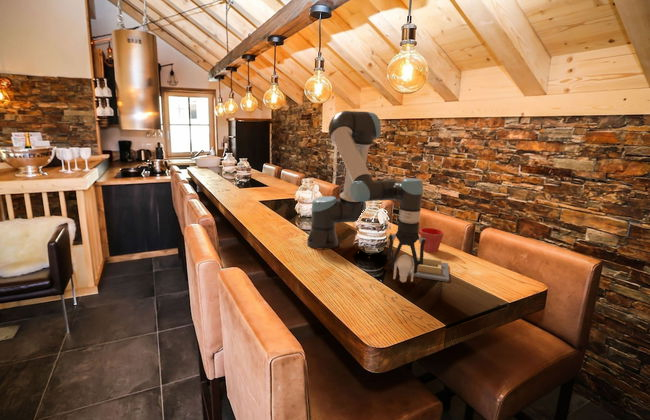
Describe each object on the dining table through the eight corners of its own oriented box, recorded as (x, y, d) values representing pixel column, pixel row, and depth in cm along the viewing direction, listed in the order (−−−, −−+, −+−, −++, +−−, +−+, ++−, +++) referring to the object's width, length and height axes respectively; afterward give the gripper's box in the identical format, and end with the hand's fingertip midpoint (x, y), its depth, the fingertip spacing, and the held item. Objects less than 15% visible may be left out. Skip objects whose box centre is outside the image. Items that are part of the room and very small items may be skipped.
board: (407, 275, 143) (407, 267, 142) (410, 260, 160) (411, 252, 159) (448, 282, 139) (449, 273, 138) (447, 265, 155) (448, 257, 155)
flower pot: (442, 254, 168) (444, 235, 166) (418, 252, 170) (420, 232, 168) (440, 247, 178) (442, 228, 176) (417, 245, 180) (419, 226, 178)
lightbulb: (400, 286, 133) (403, 259, 130) (391, 280, 138) (394, 253, 136) (414, 284, 135) (417, 257, 133) (404, 277, 141) (407, 251, 138)
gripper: (381, 220, 130) (377, 278, 136) (435, 226, 125) (428, 287, 130) (384, 215, 137) (380, 271, 143) (435, 221, 132) (428, 279, 137)
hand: (403, 278), depth 137 cm, fingers closed on lightbulb, 6 cm apart
